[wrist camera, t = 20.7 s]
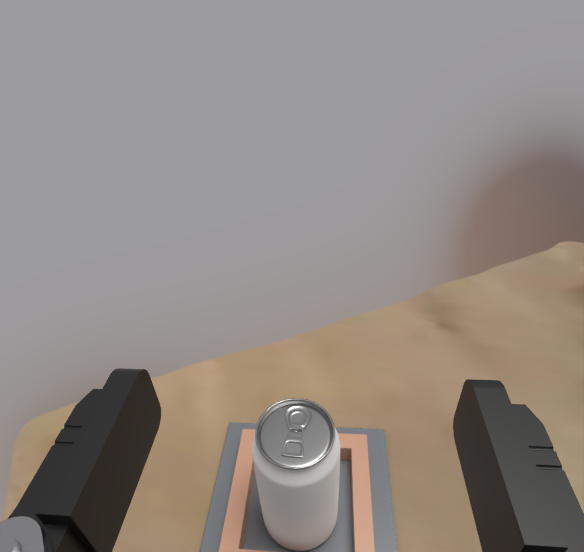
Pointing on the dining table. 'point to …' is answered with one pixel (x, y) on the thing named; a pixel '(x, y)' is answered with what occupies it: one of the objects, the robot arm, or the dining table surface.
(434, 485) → the dining table surface
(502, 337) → the dining table surface
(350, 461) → the tray
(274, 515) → the can
